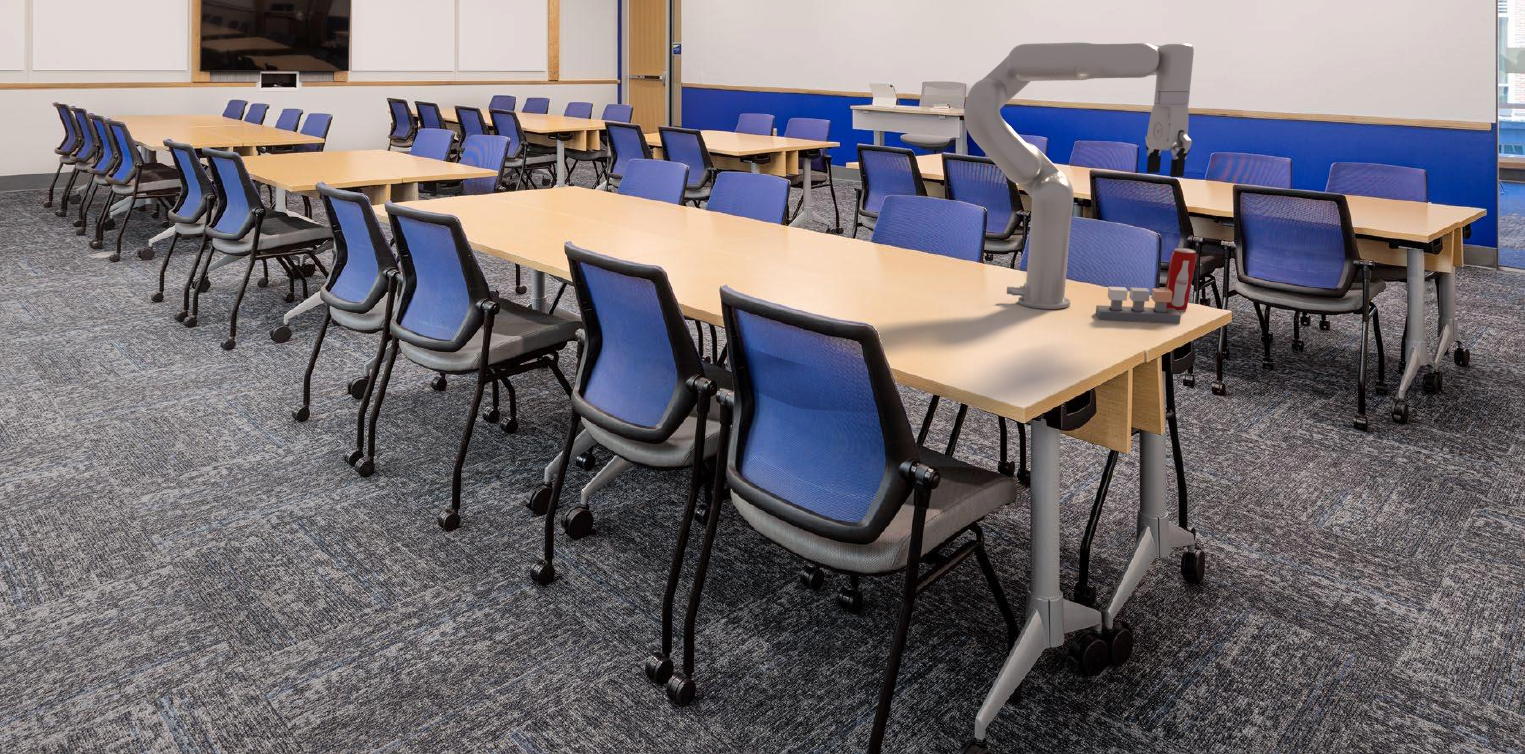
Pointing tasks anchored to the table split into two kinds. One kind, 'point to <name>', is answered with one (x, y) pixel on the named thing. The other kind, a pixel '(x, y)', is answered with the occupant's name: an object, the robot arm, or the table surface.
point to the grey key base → (1138, 315)
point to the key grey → (1139, 298)
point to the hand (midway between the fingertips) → (1164, 174)
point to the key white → (1117, 297)
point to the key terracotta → (1161, 298)
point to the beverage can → (1180, 277)
